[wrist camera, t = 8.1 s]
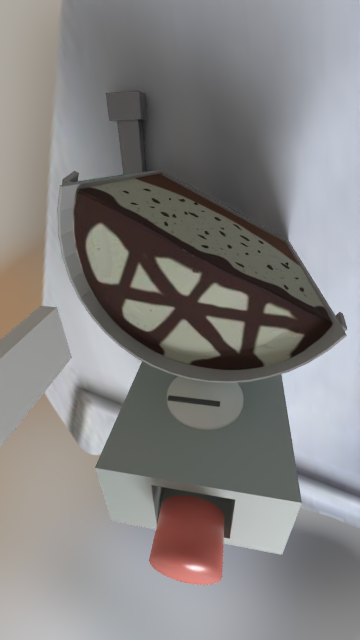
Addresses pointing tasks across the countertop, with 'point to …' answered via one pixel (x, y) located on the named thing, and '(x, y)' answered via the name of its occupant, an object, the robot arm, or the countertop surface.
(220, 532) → the button
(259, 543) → the cabinet
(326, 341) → the food container
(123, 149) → the guide rail
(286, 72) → the countertop surface
